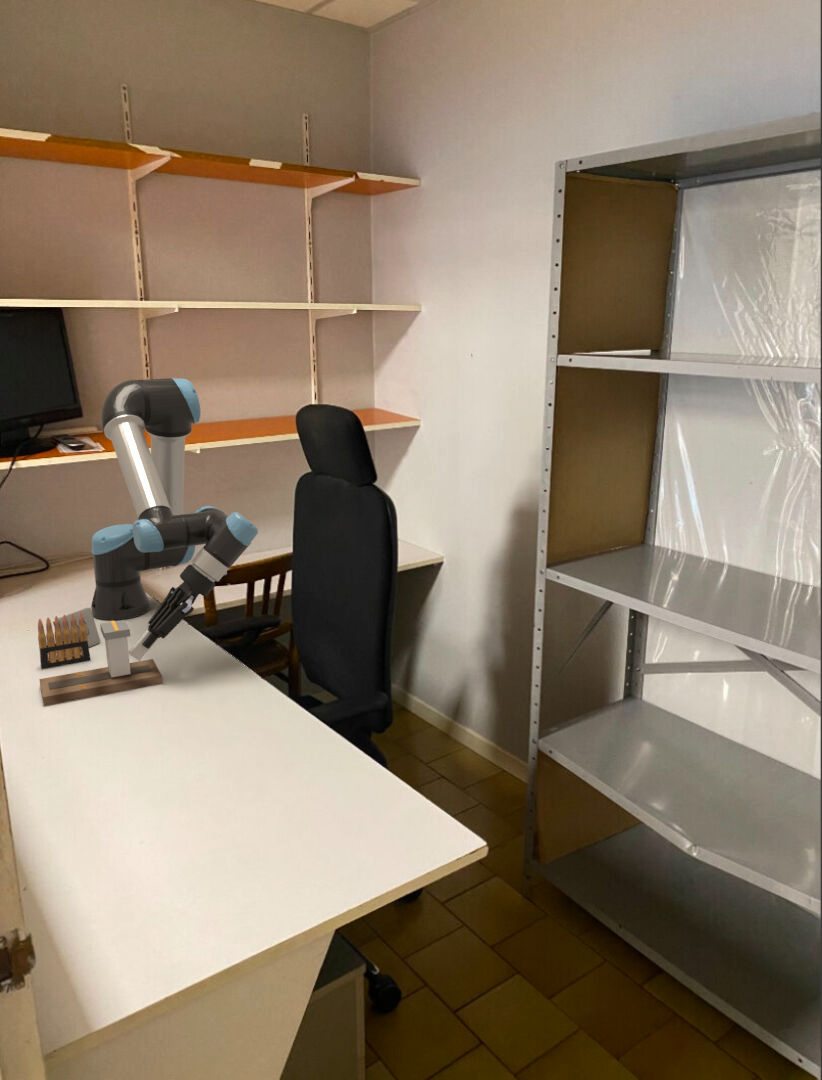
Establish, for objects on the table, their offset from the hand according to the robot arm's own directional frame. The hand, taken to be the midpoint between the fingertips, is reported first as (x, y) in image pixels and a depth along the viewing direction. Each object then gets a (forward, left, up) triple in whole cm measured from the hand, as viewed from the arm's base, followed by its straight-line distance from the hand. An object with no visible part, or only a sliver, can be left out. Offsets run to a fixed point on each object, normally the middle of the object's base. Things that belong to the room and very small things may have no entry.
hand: (133, 656), depth 182 cm
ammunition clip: (-5, -21, -6) cm, 22 cm away
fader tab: (+1, -3, -3) cm, 5 cm away
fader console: (+4, -6, -6) cm, 9 cm away
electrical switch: (-14, -24, -6) cm, 28 cm away
